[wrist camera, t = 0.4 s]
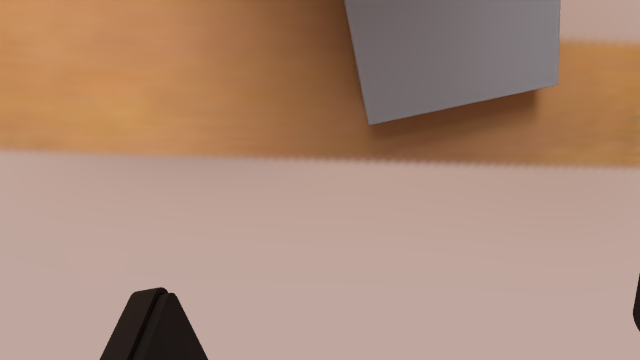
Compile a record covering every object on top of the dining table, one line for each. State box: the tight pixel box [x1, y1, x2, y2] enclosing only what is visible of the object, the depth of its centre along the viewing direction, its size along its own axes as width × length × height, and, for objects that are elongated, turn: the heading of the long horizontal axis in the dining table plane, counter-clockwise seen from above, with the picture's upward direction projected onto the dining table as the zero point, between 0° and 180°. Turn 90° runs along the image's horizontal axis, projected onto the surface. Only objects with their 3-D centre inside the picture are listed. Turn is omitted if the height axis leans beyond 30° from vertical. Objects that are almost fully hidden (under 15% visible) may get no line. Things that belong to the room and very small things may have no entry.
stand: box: [344, 0, 560, 125], centre depth 32 cm, size 14×14×4 cm
